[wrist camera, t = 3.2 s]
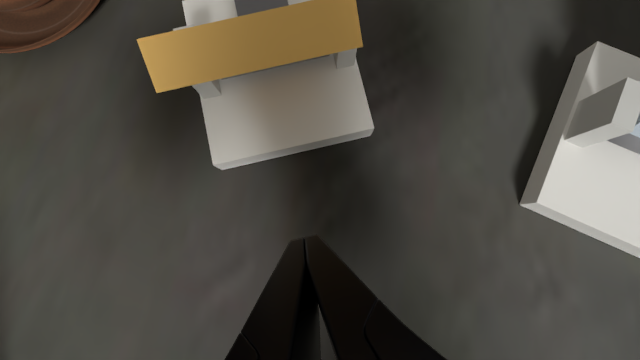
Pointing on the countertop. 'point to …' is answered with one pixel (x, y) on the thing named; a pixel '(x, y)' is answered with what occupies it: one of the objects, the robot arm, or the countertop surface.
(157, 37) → the amber lever
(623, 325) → the countertop surface
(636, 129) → the slate lever
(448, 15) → the countertop surface
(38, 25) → the cup and saucer
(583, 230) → the switch plate
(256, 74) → the switch plate
